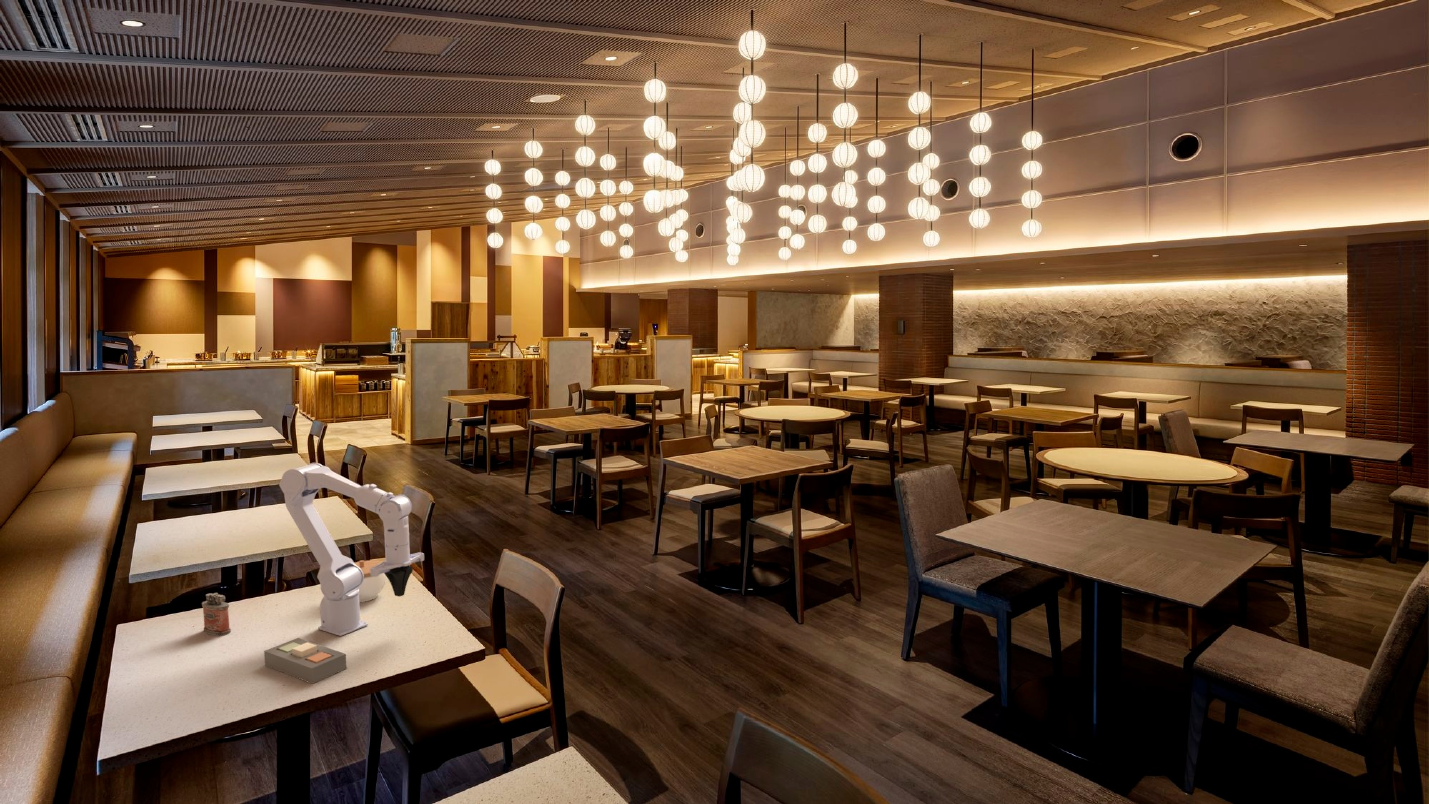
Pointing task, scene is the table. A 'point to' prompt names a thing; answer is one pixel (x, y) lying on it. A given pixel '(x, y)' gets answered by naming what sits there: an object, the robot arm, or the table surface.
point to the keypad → (305, 662)
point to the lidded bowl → (370, 581)
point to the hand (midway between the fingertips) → (399, 595)
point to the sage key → (288, 647)
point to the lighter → (216, 615)
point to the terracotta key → (319, 657)
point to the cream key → (304, 650)
